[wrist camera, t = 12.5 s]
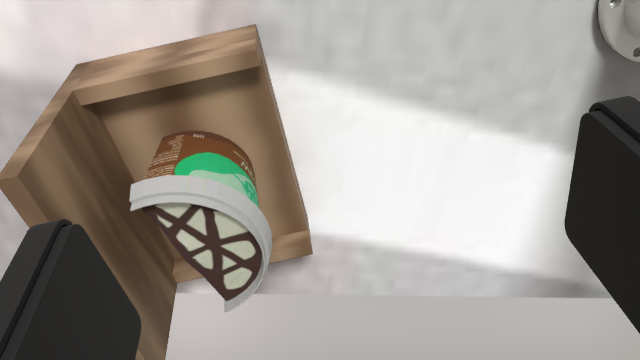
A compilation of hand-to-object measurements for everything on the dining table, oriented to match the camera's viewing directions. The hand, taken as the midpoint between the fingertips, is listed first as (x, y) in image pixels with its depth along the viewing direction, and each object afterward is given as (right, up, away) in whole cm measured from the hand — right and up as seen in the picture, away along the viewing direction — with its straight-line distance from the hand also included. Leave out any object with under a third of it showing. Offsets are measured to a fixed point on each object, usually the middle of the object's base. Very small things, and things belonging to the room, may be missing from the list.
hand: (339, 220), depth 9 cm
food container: (-8, +2, +32) cm, 33 cm away
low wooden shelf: (-10, +3, +34) cm, 36 cm away
